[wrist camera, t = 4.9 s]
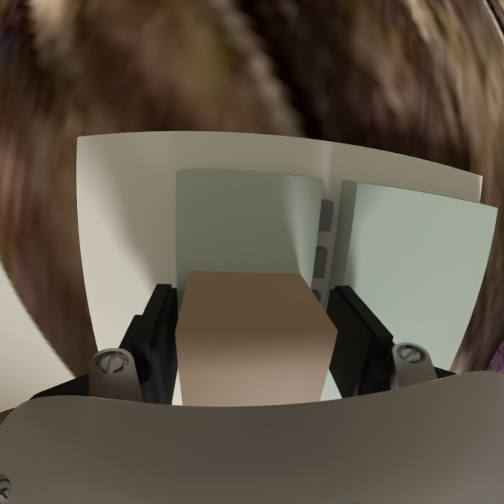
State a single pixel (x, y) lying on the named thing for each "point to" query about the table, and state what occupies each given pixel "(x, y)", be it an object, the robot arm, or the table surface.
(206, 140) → the base
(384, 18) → the table surface
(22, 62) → the table surface
